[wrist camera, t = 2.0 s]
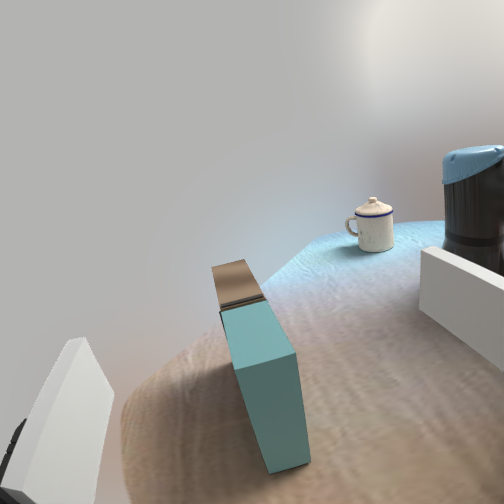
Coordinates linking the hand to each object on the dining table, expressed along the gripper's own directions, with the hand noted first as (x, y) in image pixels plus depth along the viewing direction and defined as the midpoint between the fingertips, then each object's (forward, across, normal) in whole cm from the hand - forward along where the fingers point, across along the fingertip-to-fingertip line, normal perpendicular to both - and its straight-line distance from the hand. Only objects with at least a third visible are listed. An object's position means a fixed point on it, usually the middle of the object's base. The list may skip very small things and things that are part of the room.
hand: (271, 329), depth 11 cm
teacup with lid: (+52, +35, -20) cm, 66 cm away
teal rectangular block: (+10, 0, -20) cm, 23 cm away
